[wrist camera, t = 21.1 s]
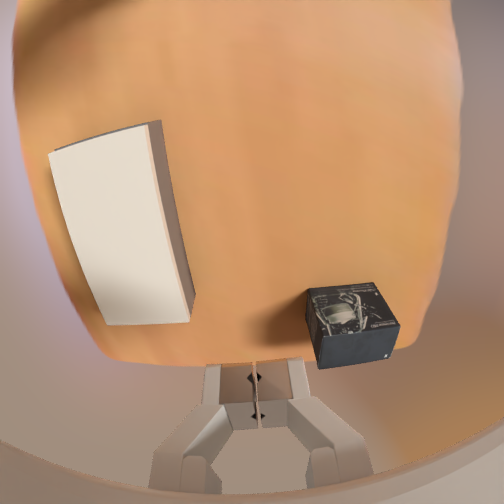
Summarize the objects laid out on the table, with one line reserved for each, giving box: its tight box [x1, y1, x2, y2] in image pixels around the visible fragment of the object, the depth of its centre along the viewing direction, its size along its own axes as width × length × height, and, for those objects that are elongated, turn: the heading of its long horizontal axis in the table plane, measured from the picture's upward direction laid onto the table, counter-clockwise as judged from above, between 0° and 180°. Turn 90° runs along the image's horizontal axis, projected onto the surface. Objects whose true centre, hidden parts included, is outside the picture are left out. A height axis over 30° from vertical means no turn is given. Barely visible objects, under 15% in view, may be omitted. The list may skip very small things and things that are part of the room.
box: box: [305, 283, 401, 369], centre depth 38 cm, size 11×7×10 cm, turn 93°
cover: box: [48, 124, 190, 325], centre depth 30 cm, size 24×12×1 cm, turn 5°
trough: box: [55, 120, 196, 317], centre depth 33 cm, size 24×13×5 cm, turn 5°
